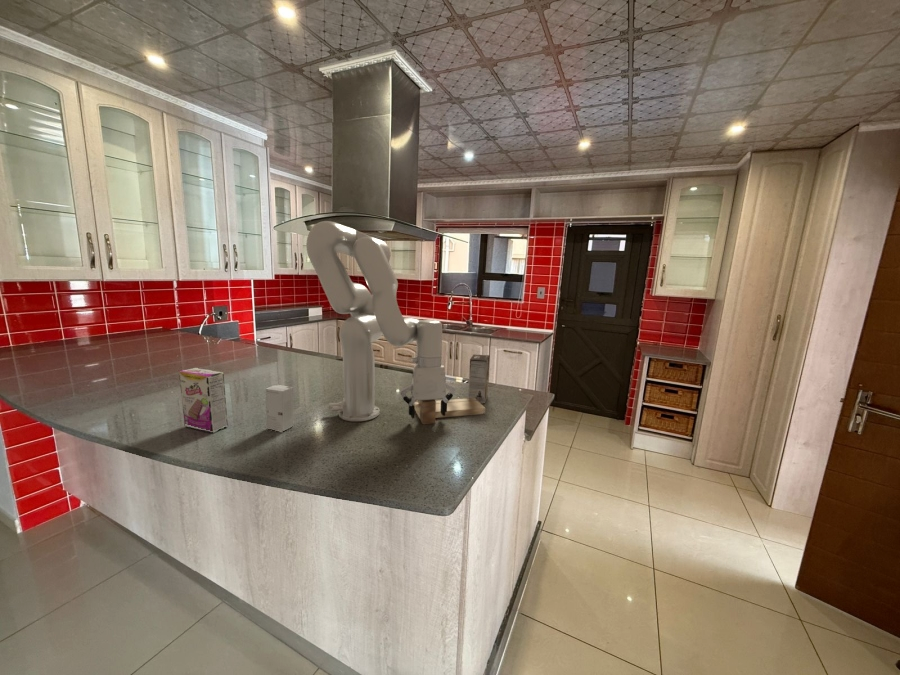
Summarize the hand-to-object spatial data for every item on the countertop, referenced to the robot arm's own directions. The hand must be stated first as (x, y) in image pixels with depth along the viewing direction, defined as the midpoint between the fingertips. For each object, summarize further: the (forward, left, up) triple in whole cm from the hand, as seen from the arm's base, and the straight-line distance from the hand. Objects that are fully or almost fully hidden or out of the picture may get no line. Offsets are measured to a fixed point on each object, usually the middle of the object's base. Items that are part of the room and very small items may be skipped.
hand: (427, 415), depth 106 cm
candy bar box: (-62, +9, -2) cm, 63 cm away
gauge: (0, +4, -2) cm, 5 cm away
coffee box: (+23, +16, -2) cm, 28 cm away
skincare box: (-42, +4, -2) cm, 42 cm away
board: (+9, +7, -2) cm, 12 cm away
